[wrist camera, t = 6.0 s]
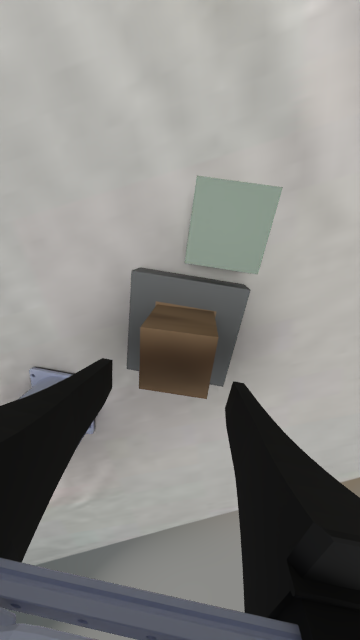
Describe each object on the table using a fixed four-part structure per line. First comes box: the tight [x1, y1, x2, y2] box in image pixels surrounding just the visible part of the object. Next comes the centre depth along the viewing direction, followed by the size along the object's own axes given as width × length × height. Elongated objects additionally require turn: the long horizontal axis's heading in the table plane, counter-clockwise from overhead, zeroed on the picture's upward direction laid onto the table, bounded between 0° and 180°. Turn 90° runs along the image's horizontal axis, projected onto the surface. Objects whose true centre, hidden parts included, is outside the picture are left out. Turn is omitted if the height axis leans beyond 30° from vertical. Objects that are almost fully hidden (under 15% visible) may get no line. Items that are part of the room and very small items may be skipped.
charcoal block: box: [127, 268, 250, 387], centre depth 19 cm, size 10×10×3 cm
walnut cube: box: [139, 304, 219, 399], centre depth 15 cm, size 5×5×5 cm
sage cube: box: [185, 176, 283, 274], centre depth 14 cm, size 5×5×5 cm
